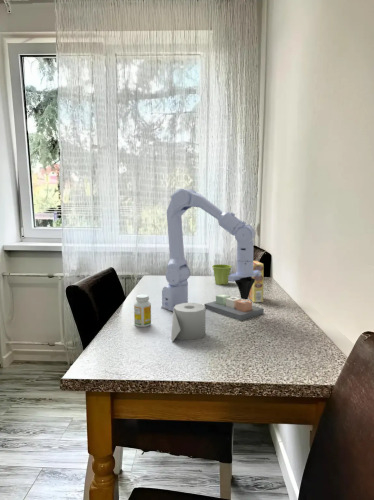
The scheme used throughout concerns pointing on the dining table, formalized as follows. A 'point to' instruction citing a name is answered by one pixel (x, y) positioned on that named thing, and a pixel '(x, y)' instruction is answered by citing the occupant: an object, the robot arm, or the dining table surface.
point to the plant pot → (221, 273)
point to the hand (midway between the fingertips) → (244, 298)
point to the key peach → (244, 305)
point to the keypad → (233, 311)
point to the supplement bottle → (142, 311)
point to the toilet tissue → (188, 322)
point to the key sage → (221, 299)
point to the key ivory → (232, 302)
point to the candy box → (257, 283)
